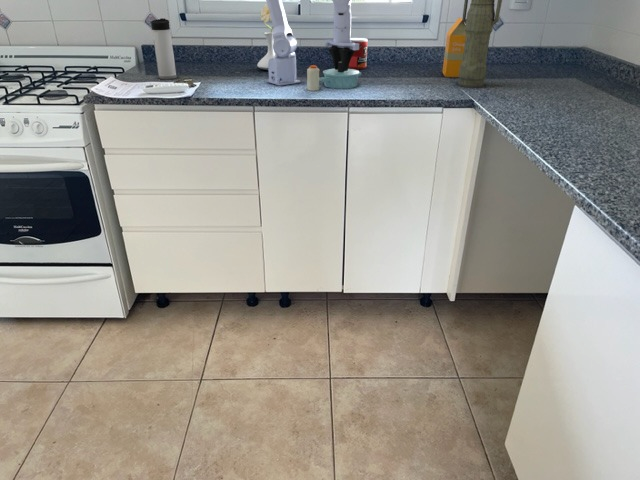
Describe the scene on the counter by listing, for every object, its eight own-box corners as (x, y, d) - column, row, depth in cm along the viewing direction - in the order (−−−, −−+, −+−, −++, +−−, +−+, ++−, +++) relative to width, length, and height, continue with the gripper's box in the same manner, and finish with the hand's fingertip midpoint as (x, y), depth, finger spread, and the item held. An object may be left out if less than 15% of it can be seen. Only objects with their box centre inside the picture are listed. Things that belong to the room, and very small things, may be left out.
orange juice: (462, 72, 191) (469, 17, 182) (465, 77, 184) (473, 19, 174) (441, 72, 192) (448, 16, 182) (444, 76, 184) (451, 19, 175)
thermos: (485, 89, 166) (504, -29, 149) (450, 85, 170) (465, -29, 153) (490, 84, 173) (509, -29, 156) (456, 81, 177) (471, -29, 160)
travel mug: (179, 76, 184) (171, 18, 174) (173, 79, 178) (164, 20, 169) (163, 75, 185) (154, 18, 175) (156, 79, 179) (147, 19, 169)
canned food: (359, 70, 196) (360, 40, 191) (343, 67, 201) (344, 39, 195) (369, 67, 202) (371, 38, 196) (353, 65, 206) (354, 37, 201)
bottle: (311, 91, 162) (311, 67, 159) (305, 89, 165) (304, 65, 161) (321, 89, 164) (321, 66, 161) (314, 87, 167) (314, 64, 164)
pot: (370, 84, 171) (370, 73, 169) (331, 91, 163) (332, 78, 161) (348, 79, 180) (349, 68, 178) (311, 85, 171) (311, 73, 169)
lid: (366, 75, 168) (367, 62, 166) (338, 80, 162) (338, 66, 160) (343, 70, 177) (344, 57, 175) (315, 74, 170) (315, 61, 168)
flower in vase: (253, 68, 199) (249, 0, 187) (279, 66, 203) (277, -1, 191) (264, 73, 189) (260, 2, 177) (291, 71, 193) (289, 1, 181)
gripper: (366, 28, 160) (364, 71, 166) (335, 25, 169) (335, 66, 176) (351, 30, 155) (349, 74, 162) (320, 26, 165) (320, 68, 172)
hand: (341, 70), depth 169 cm, fingers open, 3 cm apart
